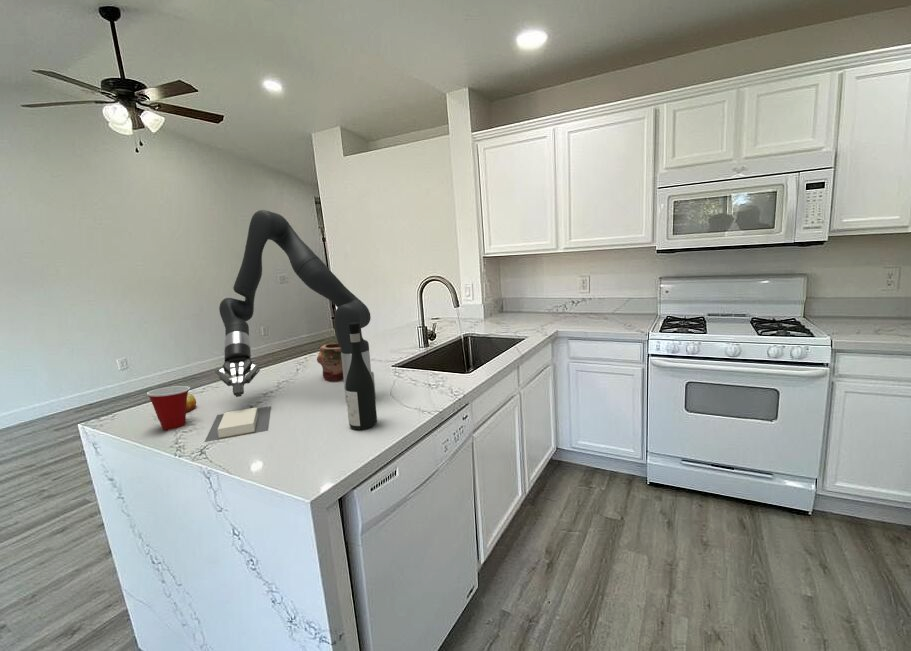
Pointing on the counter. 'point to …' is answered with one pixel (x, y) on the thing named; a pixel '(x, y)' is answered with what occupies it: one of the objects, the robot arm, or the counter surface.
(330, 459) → the counter surface
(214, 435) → the rubber mat
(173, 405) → the plastic cup
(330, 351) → the decorative planter
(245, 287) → the robot arm
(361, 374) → the wine bottle
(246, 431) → the cream rectangular block
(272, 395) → the counter surface
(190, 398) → the fruit
